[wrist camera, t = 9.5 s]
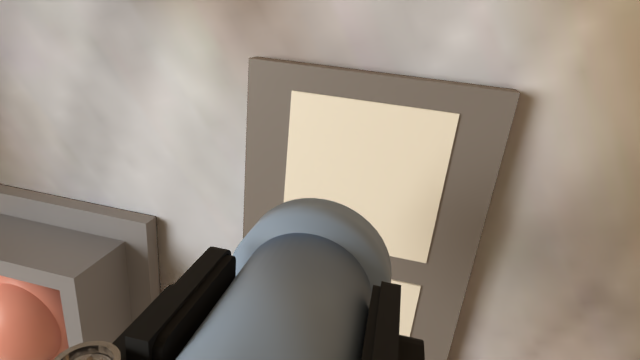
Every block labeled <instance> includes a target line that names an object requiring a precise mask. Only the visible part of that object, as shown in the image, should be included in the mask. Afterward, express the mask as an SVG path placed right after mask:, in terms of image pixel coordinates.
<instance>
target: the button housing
mask: <svg viewBox="0 0 640 360" xmlns="http://www.w3.org/2000/svg"><path fill="white" fill-rule="evenodd" d="M0 275H1V276H5V277H9V278H13V279H17V280H20V281H24V282H28V283H32V284H36V285H40V286H44V287H48V288H52V289H56V290H60V296H61V303H62V309H63V315H64V321H65V327H66V333H67V339H68V345H69V348H70V347H72V346H75V345H77V344H80V343H84V342H88V341H105V342H110V343H113V342H114V341H115V340H116V339H117V338H118V337H119V336H120V335H121V334H122V333H123V332H124V331H125V330H126V329H127V328H128V327H129V325H130V324H131V323H132V322H133V321H134V320H135V319H136V318H137V317H138V316H139V315H140V314H141V313H142V312H143V311H144V310H145V309H146V308H147V307H148V306H149V305H150V304H151V303H152V302H153V301H154V300H155V299H156V298H157V297H158V296H159V295H160V282H159V264H158V246H157V227H156V217H155V216H151V215H146V214H141V213H136V212H131V211H126V210H122V209H117V208H112V207H107V206H102V205H97V204H93V203H88V202H83V201H78V200H73V199H68V198H64V197H59V196H54V195H49V194H44V193H40V192H35V191H30V190H25V189H20V188H15V187H11V186H6V185H1V184H0Z"/></svg>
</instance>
